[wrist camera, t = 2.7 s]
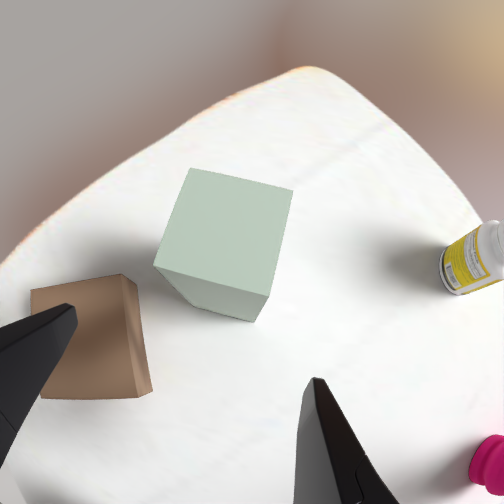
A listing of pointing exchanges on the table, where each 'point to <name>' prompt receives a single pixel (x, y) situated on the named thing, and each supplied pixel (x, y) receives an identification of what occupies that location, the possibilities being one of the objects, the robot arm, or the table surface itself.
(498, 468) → the pepper mill
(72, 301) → the walnut block
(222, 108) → the table surface
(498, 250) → the supplement bottle
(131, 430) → the table surface
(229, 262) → the tall block
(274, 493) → the table surface
